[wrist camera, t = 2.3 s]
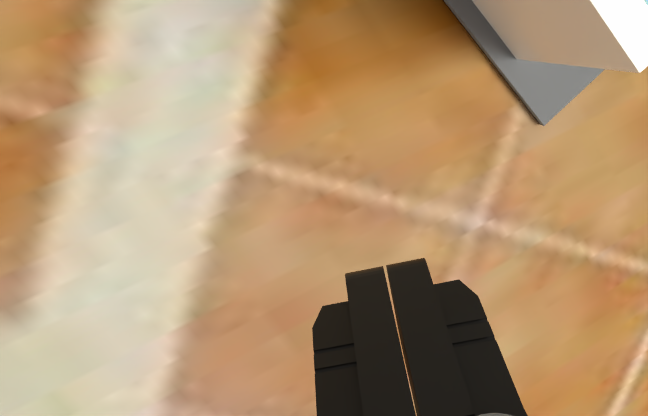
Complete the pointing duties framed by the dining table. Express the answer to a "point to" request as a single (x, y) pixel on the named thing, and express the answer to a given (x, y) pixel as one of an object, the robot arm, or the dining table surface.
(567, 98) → the mat
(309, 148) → the dining table surface
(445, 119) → the dining table surface
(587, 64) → the tile
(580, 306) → the dining table surface
